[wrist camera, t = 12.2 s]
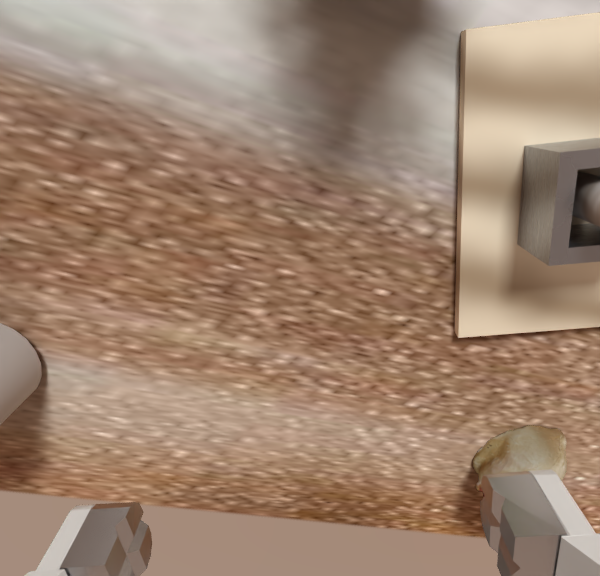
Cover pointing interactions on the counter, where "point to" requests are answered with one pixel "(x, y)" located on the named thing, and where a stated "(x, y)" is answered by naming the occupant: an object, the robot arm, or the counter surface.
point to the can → (16, 371)
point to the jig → (509, 167)
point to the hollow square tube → (556, 203)
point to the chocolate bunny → (522, 452)
